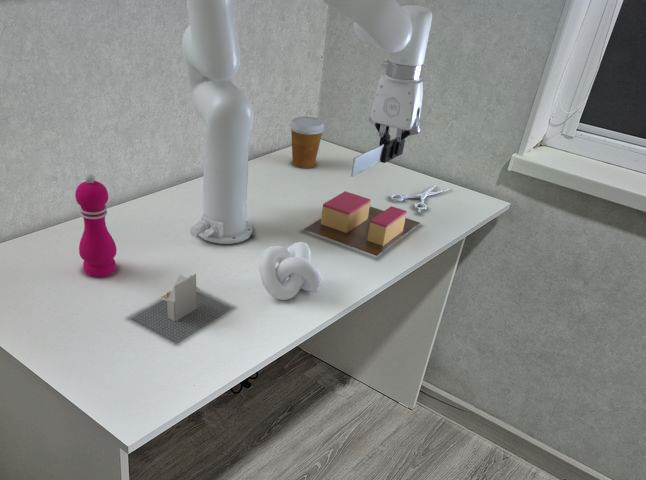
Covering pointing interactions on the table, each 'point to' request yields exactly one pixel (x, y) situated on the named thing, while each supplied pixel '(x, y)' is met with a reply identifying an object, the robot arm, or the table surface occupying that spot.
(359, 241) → the cake board
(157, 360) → the table surface
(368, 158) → the knife
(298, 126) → the disposable coffee cup
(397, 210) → the cake slice
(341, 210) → the cake
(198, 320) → the architectural model
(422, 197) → the scissors
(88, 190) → the pepper mill
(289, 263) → the white knot sculpture
